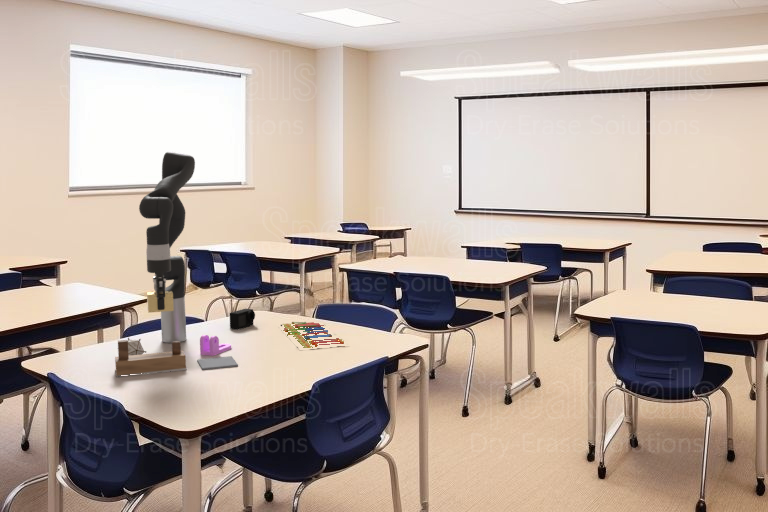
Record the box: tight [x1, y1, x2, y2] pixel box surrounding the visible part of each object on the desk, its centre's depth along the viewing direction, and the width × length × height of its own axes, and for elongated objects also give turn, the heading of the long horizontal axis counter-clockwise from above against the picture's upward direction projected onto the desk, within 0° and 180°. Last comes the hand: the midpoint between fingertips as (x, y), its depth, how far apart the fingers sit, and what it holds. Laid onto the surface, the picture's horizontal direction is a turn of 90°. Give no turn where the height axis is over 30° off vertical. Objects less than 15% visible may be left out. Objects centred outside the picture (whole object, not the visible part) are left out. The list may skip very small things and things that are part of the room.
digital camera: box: [229, 308, 256, 331], centre depth 313 cm, size 10×5×7 cm, turn 151°
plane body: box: [114, 339, 188, 377], centre depth 247 cm, size 7×22×11 cm, turn 112°
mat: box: [196, 355, 239, 371], centre depth 256 cm, size 12×12×1 cm
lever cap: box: [146, 291, 174, 313], centre depth 246 cm, size 4×8×7 cm, turn 111°
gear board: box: [281, 321, 345, 348], centre depth 298 cm, size 45×2×19 cm
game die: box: [127, 337, 147, 356], centre depth 259 cm, size 9×8×10 cm
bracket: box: [199, 334, 232, 357], centre depth 273 cm, size 13×6×7 cm, turn 156°
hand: (160, 307), depth 247 cm, fingers closed on lever cap, 4 cm apart
